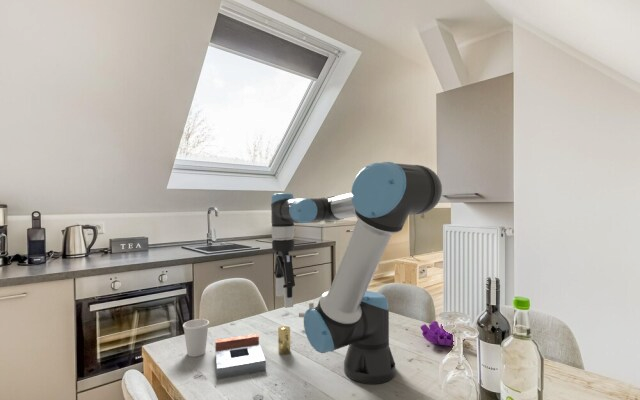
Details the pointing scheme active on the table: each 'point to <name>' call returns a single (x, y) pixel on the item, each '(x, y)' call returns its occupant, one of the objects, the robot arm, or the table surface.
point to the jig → (239, 356)
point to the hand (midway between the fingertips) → (284, 301)
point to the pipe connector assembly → (437, 334)
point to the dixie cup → (196, 336)
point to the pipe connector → (311, 305)
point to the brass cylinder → (284, 340)
